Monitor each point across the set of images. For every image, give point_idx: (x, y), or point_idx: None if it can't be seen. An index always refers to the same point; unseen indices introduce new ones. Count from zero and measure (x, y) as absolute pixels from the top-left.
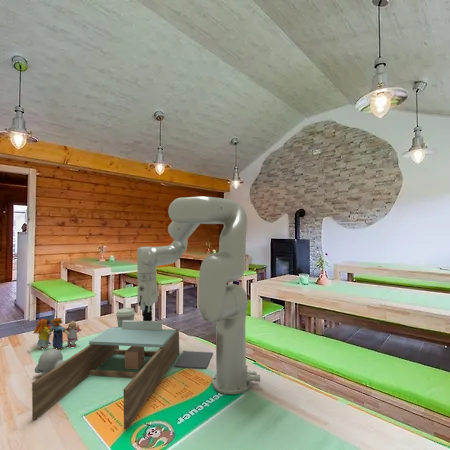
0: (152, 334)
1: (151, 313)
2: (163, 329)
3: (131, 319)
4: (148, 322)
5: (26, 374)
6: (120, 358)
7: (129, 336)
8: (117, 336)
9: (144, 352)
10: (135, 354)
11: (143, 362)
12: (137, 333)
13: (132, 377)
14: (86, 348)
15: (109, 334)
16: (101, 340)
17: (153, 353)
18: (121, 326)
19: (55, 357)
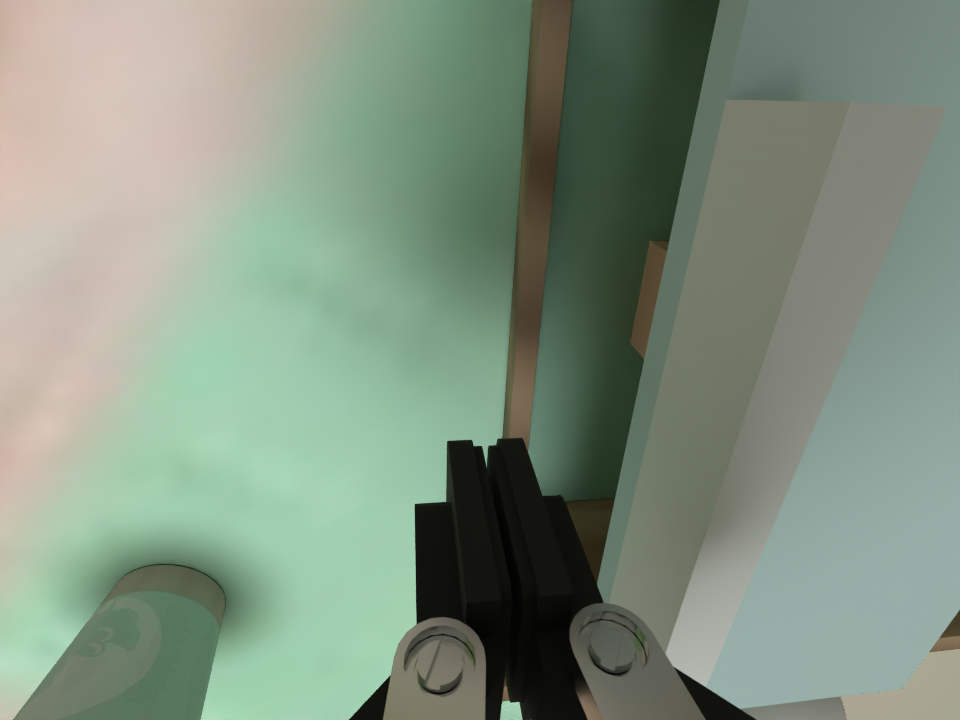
0: (955, 190)
1: (495, 552)
2: (753, 58)
3: (99, 713)
4: (820, 405)
5: None
6: (577, 439)
7: (909, 466)
8: (863, 570)
9: (541, 299)
10: None
11: (665, 242)
12: (834, 425)
13: None
14: (939, 639)
15: (783, 650)
16: (918, 631)
17: (548, 208)
18: (203, 693)
19: (829, 702)
